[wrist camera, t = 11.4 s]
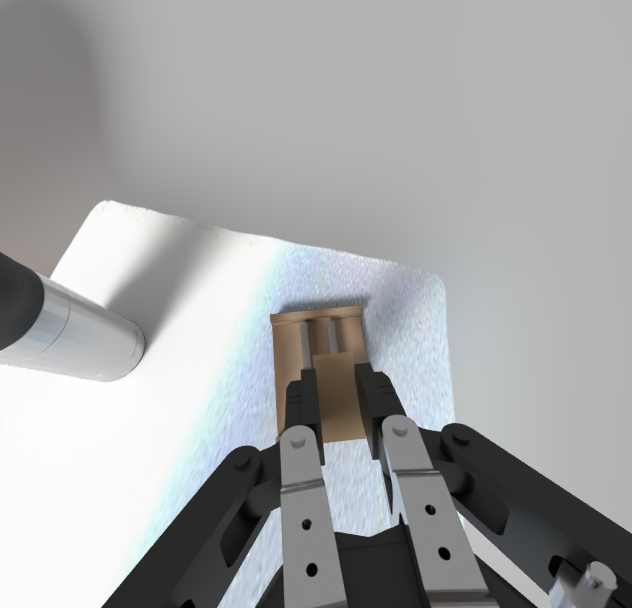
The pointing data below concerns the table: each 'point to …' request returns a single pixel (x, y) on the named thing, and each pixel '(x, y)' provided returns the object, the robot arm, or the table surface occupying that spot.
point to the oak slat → (338, 397)
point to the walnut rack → (311, 344)
